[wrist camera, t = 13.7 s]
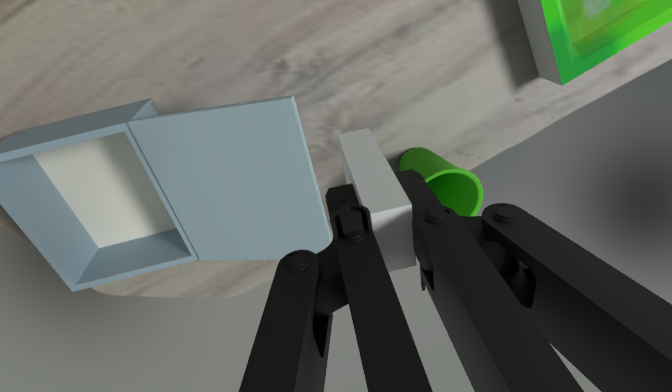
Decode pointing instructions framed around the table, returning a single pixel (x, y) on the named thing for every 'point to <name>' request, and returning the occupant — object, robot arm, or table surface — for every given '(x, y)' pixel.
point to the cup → (445, 180)
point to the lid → (238, 178)
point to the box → (91, 198)
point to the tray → (586, 31)
